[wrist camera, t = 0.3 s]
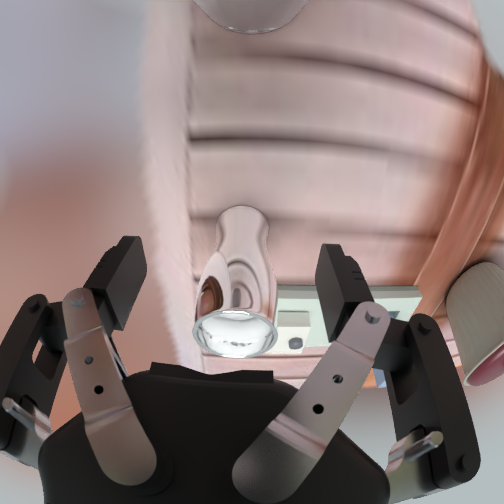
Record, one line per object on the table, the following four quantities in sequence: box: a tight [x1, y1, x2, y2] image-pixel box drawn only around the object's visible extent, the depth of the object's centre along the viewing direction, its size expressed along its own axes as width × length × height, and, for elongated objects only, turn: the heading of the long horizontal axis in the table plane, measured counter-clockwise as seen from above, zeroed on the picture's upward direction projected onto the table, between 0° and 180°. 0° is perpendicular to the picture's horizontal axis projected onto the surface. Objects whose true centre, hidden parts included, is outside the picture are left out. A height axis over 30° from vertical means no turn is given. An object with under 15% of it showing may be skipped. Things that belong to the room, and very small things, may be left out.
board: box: [277, 285, 422, 347], centre depth 41 cm, size 12×28×2 cm, turn 87°
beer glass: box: [192, 206, 278, 358], centre depth 26 cm, size 7×7×15 cm
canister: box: [446, 262, 504, 386], centre depth 30 cm, size 18×18×21 cm
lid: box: [265, 312, 311, 354], centre depth 38 cm, size 7×7×3 cm
